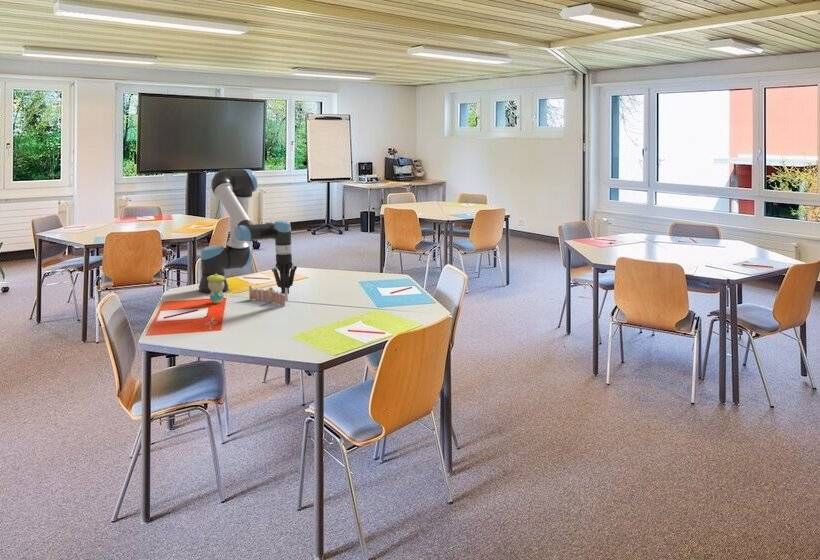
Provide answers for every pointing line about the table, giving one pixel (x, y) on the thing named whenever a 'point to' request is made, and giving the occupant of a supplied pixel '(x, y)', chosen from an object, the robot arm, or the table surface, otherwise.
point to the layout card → (265, 304)
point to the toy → (216, 287)
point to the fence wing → (278, 298)
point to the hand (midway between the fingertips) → (285, 300)
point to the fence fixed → (260, 294)
